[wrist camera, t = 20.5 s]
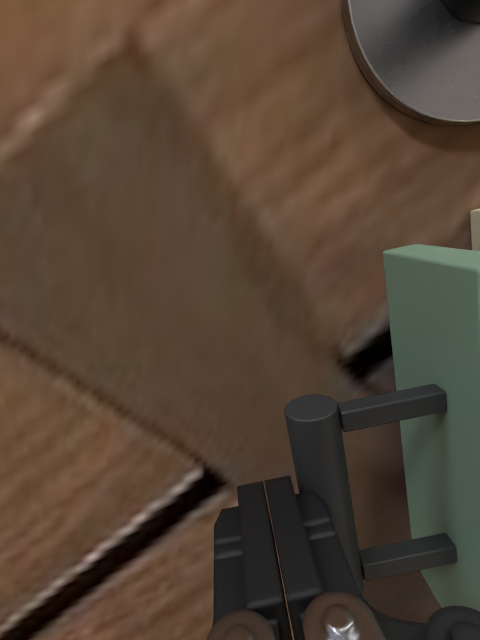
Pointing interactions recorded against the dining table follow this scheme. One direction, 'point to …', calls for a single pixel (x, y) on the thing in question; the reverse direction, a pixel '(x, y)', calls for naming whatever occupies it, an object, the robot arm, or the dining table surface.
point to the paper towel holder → (420, 55)
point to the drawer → (413, 427)
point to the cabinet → (475, 229)
